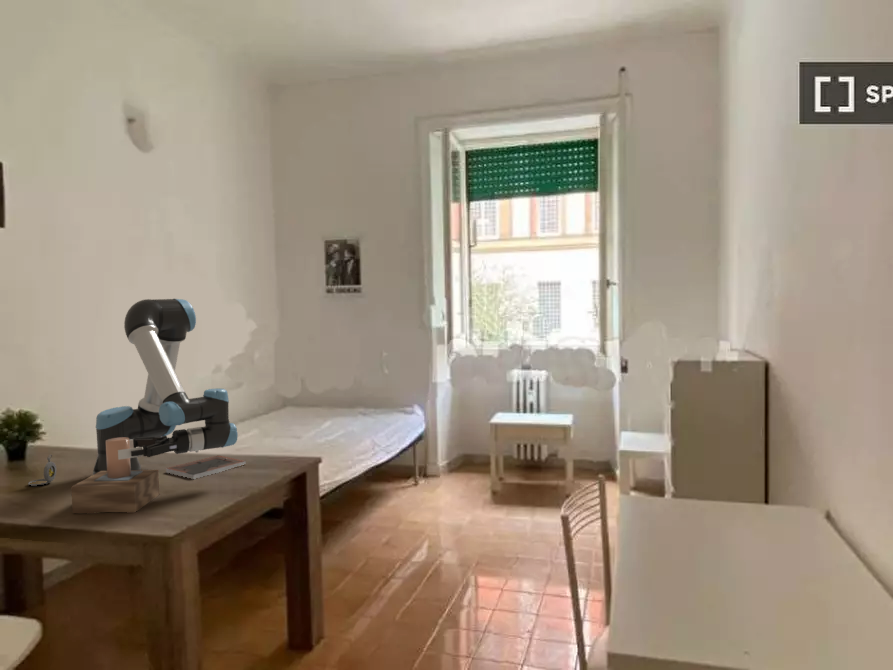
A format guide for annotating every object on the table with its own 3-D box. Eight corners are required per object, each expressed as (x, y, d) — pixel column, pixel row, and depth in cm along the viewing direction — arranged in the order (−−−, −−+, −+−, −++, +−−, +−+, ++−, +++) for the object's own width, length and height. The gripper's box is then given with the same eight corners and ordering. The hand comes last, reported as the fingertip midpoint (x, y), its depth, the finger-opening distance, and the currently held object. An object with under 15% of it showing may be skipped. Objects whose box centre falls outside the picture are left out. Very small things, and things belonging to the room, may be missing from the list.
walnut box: (102, 495, 206) (100, 469, 206) (159, 494, 207) (158, 468, 206) (72, 513, 189) (71, 485, 189) (135, 512, 190) (134, 484, 189)
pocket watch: (27, 484, 221) (25, 454, 221) (56, 479, 226) (54, 451, 226) (29, 489, 215) (28, 459, 214) (59, 484, 220) (57, 455, 219)
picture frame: (193, 481, 223) (245, 467, 241) (193, 474, 223) (245, 460, 241) (166, 474, 233) (218, 461, 250) (165, 467, 233) (217, 454, 250)
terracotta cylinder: (113, 472, 202) (111, 437, 201) (134, 472, 202) (132, 437, 201) (103, 478, 196) (101, 442, 195) (125, 478, 196) (123, 441, 195)
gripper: (198, 459, 200) (122, 471, 188) (177, 445, 220) (107, 455, 208) (197, 435, 200) (121, 445, 187) (176, 423, 220) (106, 431, 207)
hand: (114, 450), depth 198 cm, fingers open, 13 cm apart
